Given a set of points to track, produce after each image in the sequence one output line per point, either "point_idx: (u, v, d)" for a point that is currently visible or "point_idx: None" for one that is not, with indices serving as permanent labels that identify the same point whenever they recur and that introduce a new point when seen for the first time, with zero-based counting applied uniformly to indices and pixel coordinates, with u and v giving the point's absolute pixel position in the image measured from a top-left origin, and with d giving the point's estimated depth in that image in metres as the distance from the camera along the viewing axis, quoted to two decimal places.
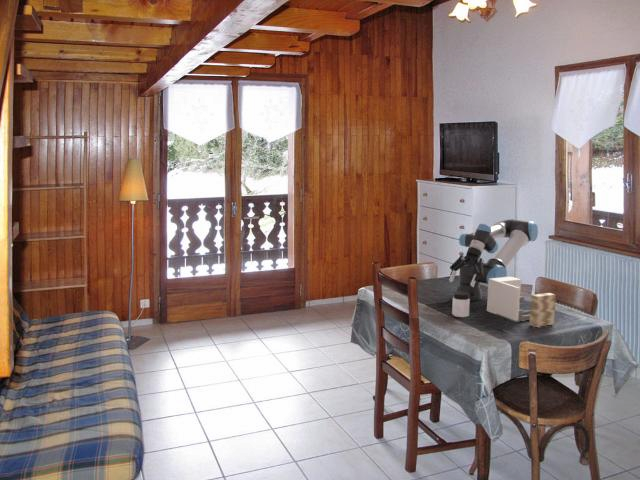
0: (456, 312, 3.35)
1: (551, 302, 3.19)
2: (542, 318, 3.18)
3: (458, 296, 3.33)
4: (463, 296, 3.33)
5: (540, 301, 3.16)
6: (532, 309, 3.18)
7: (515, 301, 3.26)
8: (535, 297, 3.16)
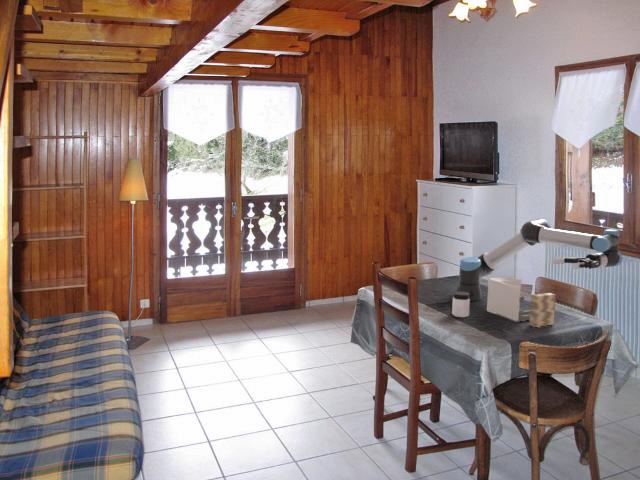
0: (456, 312, 3.35)
1: (551, 302, 3.19)
2: (542, 318, 3.18)
3: (458, 296, 3.33)
4: (463, 296, 3.33)
5: (540, 301, 3.16)
6: (532, 309, 3.18)
7: (515, 301, 3.26)
8: (535, 297, 3.16)
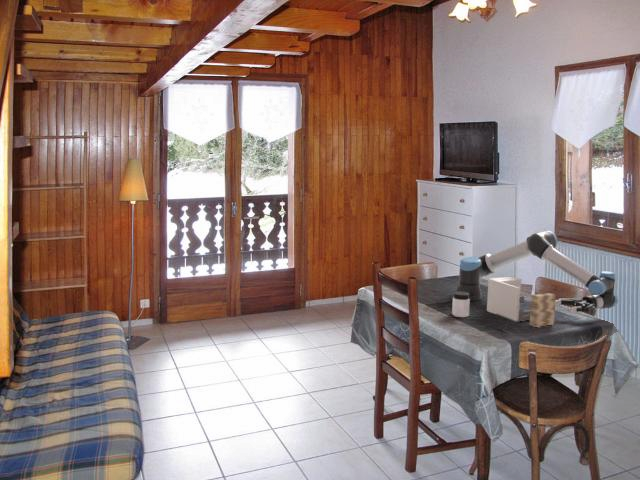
0: (456, 312, 3.35)
1: (551, 302, 3.19)
2: (542, 318, 3.18)
3: (458, 296, 3.33)
4: (463, 296, 3.33)
5: (540, 301, 3.16)
6: (532, 309, 3.18)
7: (515, 301, 3.26)
8: (535, 297, 3.16)
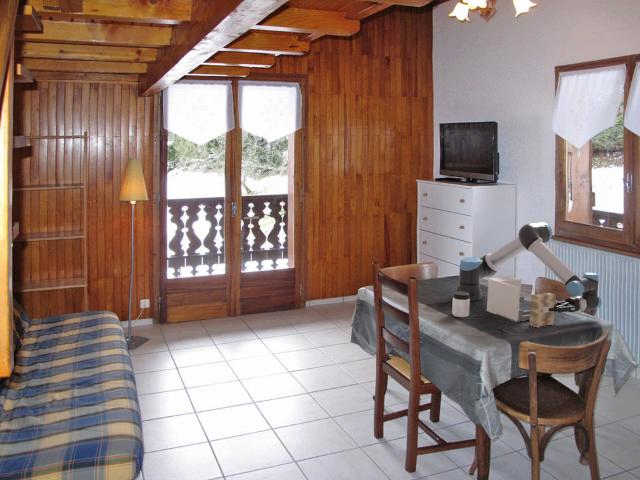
0: (456, 312, 3.35)
1: (551, 302, 3.19)
2: (542, 318, 3.18)
3: (458, 296, 3.33)
4: (463, 296, 3.33)
5: (540, 301, 3.16)
6: (532, 309, 3.18)
7: (515, 301, 3.26)
8: (535, 297, 3.16)
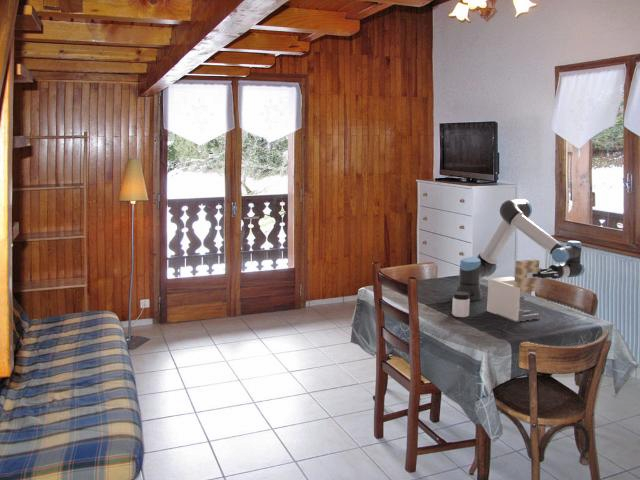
0: (456, 312, 3.35)
1: (535, 268, 3.29)
2: (526, 283, 3.28)
3: (458, 296, 3.33)
4: (463, 296, 3.33)
5: (524, 267, 3.26)
6: (516, 275, 3.28)
7: (515, 301, 3.26)
8: (519, 263, 3.25)
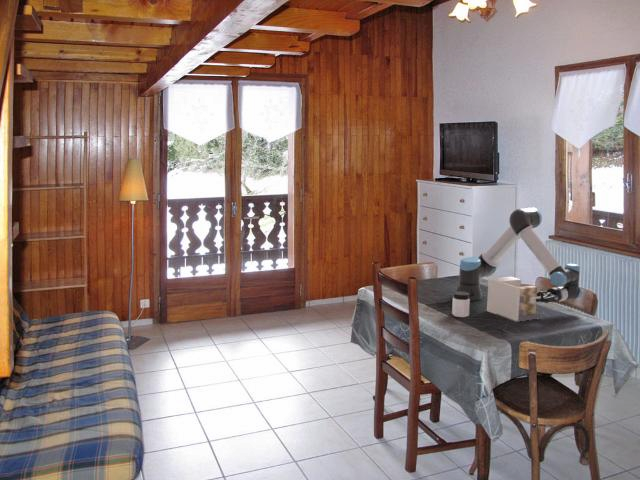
0: (456, 312, 3.35)
1: (533, 294, 3.31)
2: (524, 310, 3.30)
3: (458, 296, 3.33)
4: (463, 296, 3.33)
5: (522, 293, 3.28)
6: None
7: (515, 301, 3.26)
8: None
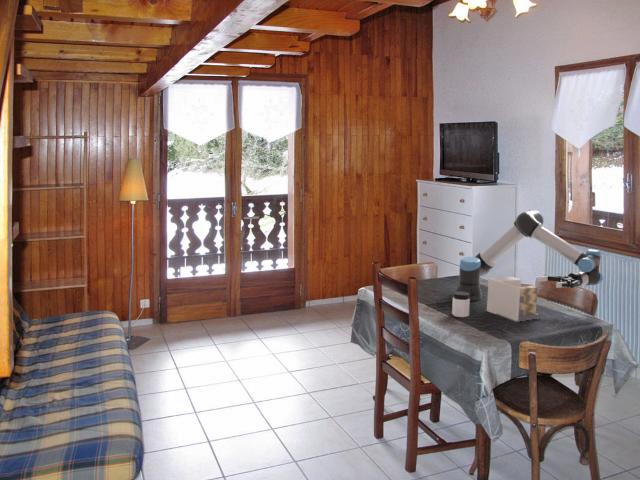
0: (456, 312, 3.35)
1: (533, 294, 3.31)
2: (524, 310, 3.30)
3: (458, 296, 3.33)
4: (463, 296, 3.33)
5: (523, 293, 3.28)
6: None
7: (515, 301, 3.26)
8: None
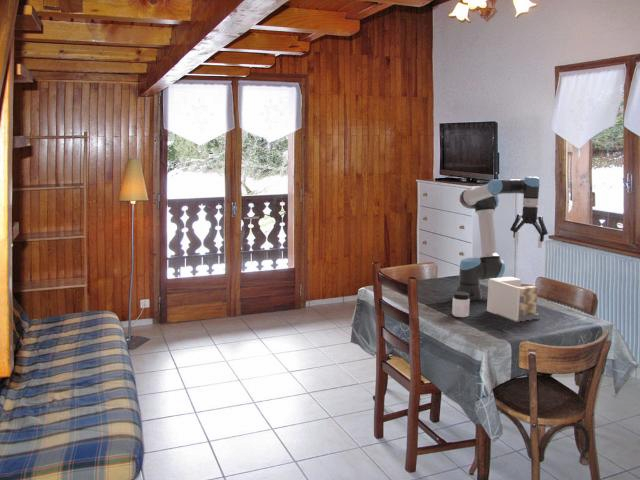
0: (456, 312, 3.35)
1: (533, 294, 3.31)
2: (524, 310, 3.30)
3: (458, 296, 3.33)
4: (463, 296, 3.33)
5: (523, 293, 3.28)
6: None
7: (515, 301, 3.26)
8: None
